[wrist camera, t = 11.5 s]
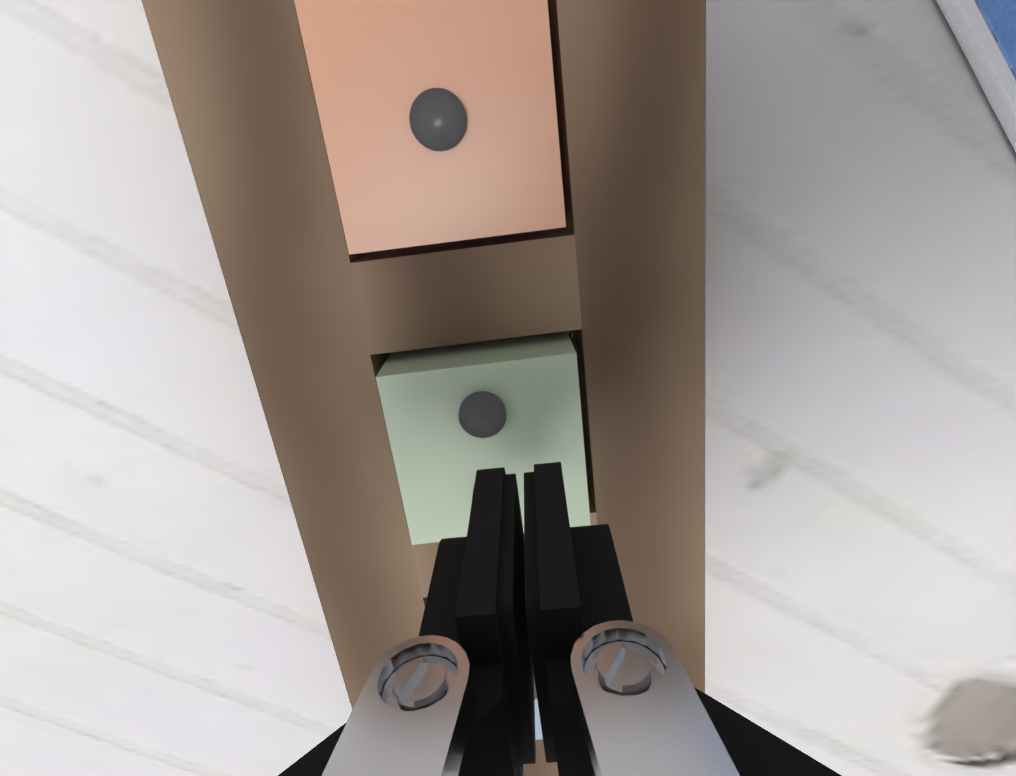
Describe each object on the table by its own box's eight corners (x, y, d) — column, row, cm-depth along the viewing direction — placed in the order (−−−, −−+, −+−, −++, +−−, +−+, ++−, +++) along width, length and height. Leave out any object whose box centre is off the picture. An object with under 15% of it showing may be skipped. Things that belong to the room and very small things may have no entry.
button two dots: (563, 323, 17) (577, 355, 14) (576, 472, 18) (591, 529, 15) (396, 343, 17) (373, 379, 14) (425, 489, 18) (410, 549, 15)
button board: (668, -183, 13) (705, -263, 11) (683, 705, 23) (704, 765, 20) (163, -108, 13) (91, -169, 11) (390, 734, 23) (378, 797, 21)
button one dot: (535, 8, 14) (545, -40, 11) (553, 218, 16) (567, 227, 13) (335, 35, 14) (290, -4, 11) (375, 240, 16) (346, 255, 13)
